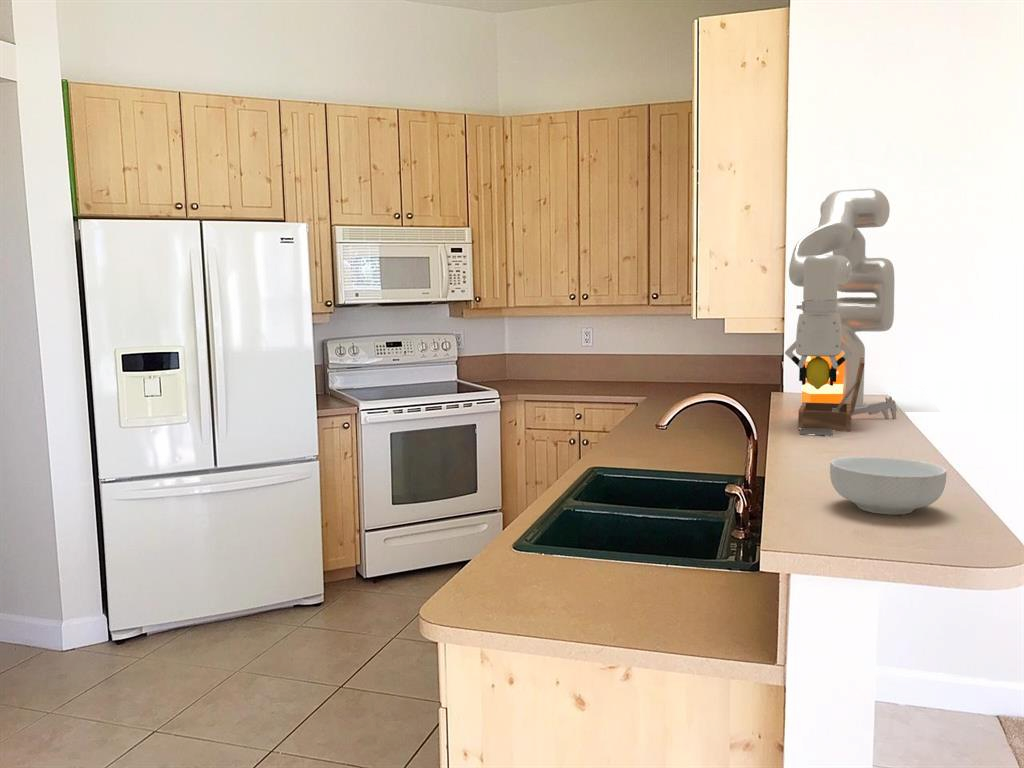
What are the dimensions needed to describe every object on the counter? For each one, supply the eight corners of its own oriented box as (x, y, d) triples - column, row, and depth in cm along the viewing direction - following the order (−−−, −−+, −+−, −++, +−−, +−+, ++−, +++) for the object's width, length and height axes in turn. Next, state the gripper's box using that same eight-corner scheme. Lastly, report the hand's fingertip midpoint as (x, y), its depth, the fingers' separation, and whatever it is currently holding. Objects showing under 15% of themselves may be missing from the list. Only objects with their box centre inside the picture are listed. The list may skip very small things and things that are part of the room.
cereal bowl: (959, 525, 128) (962, 477, 128) (839, 520, 131) (841, 474, 131) (926, 498, 145) (928, 455, 144) (820, 494, 148) (821, 453, 147)
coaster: (801, 430, 215) (801, 427, 215) (832, 431, 213) (832, 429, 213) (800, 434, 209) (800, 432, 209) (831, 436, 206) (831, 433, 206)
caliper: (894, 419, 233) (895, 396, 232) (896, 420, 232) (897, 396, 231) (815, 420, 234) (816, 396, 233) (817, 420, 232) (817, 396, 232)
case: (802, 418, 234) (803, 356, 232) (861, 421, 228) (863, 357, 227) (798, 429, 217) (799, 361, 215) (862, 432, 211) (864, 363, 210)
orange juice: (842, 415, 239) (844, 341, 237) (809, 415, 239) (811, 342, 237) (832, 411, 247) (834, 340, 245) (800, 411, 247) (802, 340, 245)
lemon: (823, 391, 206) (824, 356, 205) (801, 389, 209) (802, 355, 209) (833, 389, 210) (834, 355, 209) (811, 387, 213) (812, 354, 213)
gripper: (780, 308, 207) (778, 385, 209) (859, 308, 201) (856, 387, 203) (782, 307, 214) (781, 382, 216) (858, 307, 208) (856, 384, 210)
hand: (817, 383), depth 209 cm, fingers closed on lemon, 5 cm apart
